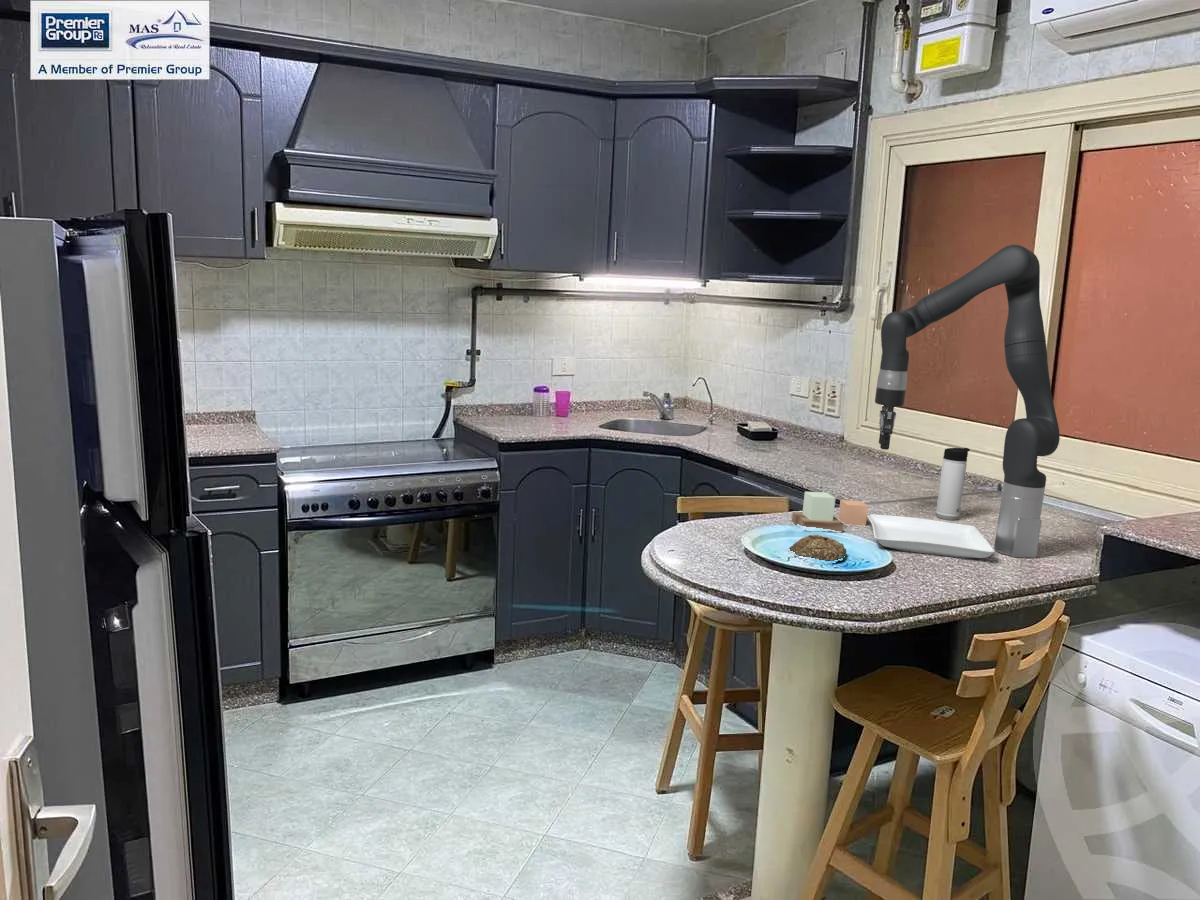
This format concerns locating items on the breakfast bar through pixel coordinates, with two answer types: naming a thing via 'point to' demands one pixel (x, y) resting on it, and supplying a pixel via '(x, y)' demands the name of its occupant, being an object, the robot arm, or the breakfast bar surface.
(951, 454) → the travel mug
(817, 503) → the sage block
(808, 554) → the bread roll
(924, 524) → the square plate
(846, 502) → the terracotta block
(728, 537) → the breakfast bar surface
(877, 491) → the breakfast bar surface
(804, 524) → the walnut slab
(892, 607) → the breakfast bar surface
